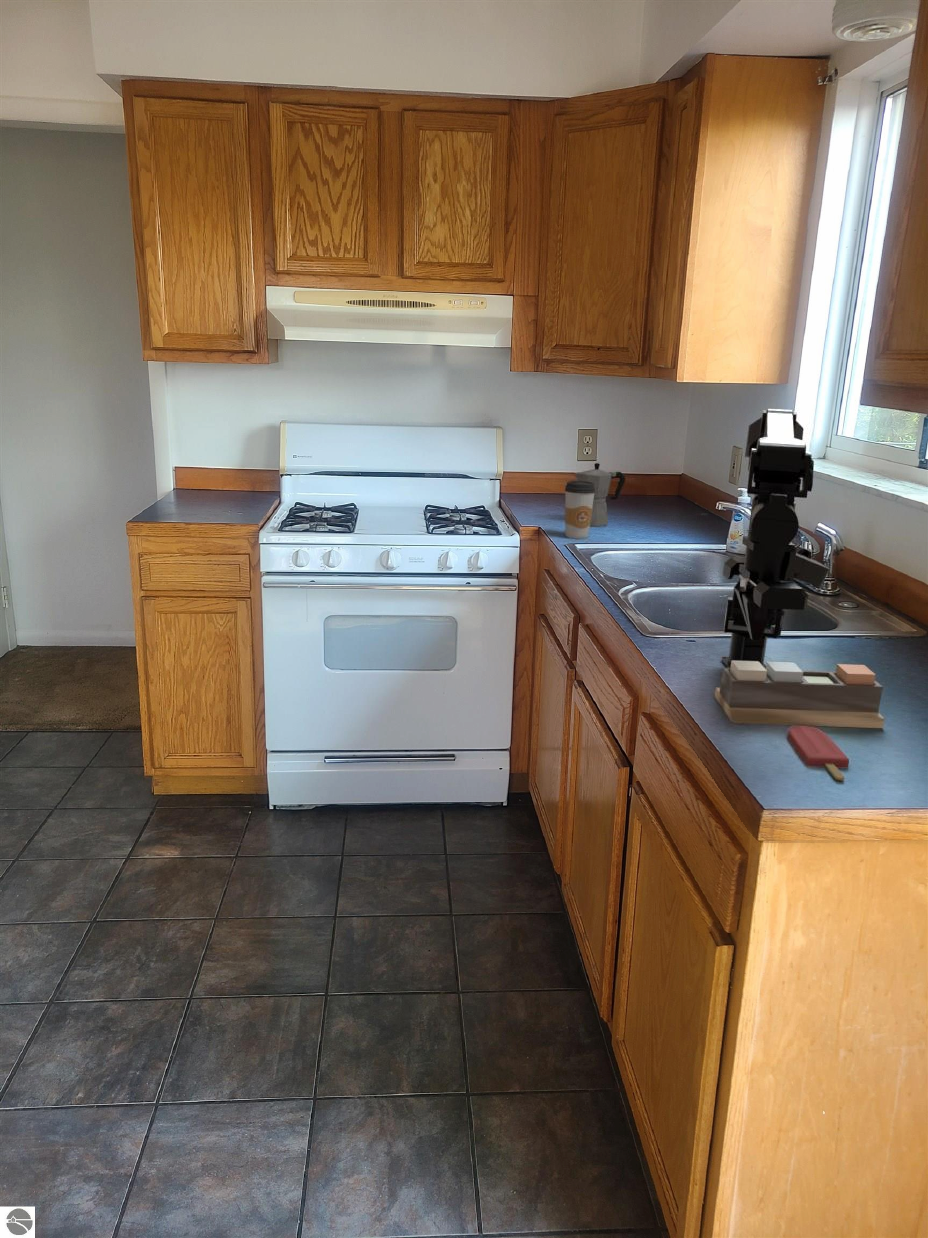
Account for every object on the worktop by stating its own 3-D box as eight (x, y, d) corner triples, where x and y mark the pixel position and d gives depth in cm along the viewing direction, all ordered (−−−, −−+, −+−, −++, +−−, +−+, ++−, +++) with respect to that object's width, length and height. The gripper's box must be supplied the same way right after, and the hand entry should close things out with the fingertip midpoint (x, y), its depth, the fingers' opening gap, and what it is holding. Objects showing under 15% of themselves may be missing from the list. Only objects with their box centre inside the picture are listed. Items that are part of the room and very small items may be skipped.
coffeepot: (573, 526, 264) (578, 464, 258) (567, 520, 273) (571, 460, 267) (625, 527, 265) (630, 465, 260) (617, 521, 274) (622, 461, 269)
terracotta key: (833, 683, 134) (837, 664, 133) (860, 684, 134) (864, 665, 133) (844, 693, 130) (847, 673, 129) (872, 694, 130) (875, 674, 129)
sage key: (797, 694, 135) (799, 675, 134) (823, 695, 135) (826, 676, 134) (806, 705, 131) (809, 685, 130) (834, 705, 131) (837, 686, 130)
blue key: (764, 680, 134) (766, 661, 133) (790, 681, 134) (793, 662, 133) (772, 690, 130) (775, 671, 129) (800, 691, 130) (803, 672, 129)
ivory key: (729, 679, 134) (731, 660, 133) (755, 680, 134) (758, 661, 133) (736, 689, 130) (739, 669, 129) (764, 690, 130) (766, 670, 129)
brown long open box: (714, 696, 138) (718, 662, 136) (854, 701, 138) (860, 667, 136) (732, 723, 128) (737, 687, 127) (882, 728, 128) (889, 692, 127)
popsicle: (820, 772, 112) (782, 723, 126) (818, 784, 112) (780, 734, 126) (863, 774, 111) (820, 725, 126) (861, 785, 112) (818, 735, 126)
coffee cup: (567, 540, 245) (571, 485, 241) (557, 533, 253) (560, 480, 248) (596, 539, 247) (600, 484, 242) (585, 533, 255) (589, 480, 250)
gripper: (855, 549, 117) (836, 663, 121) (802, 522, 134) (788, 622, 139) (769, 547, 116) (754, 661, 121) (728, 520, 134) (716, 620, 139)
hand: (755, 639), depth 130 cm, fingers closed
